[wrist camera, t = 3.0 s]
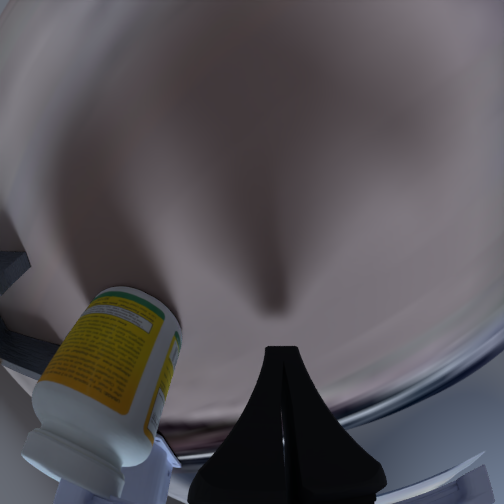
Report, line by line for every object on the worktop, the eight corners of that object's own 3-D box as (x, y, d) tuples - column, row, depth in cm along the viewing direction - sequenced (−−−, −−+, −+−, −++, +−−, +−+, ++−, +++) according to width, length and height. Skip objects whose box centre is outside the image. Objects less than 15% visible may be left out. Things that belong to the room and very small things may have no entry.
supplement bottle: (202, 347, 15) (167, 520, 6) (131, 362, 16) (82, 495, 7) (146, 267, 12) (43, 462, 4) (77, 297, 13) (-11, 433, 5)
